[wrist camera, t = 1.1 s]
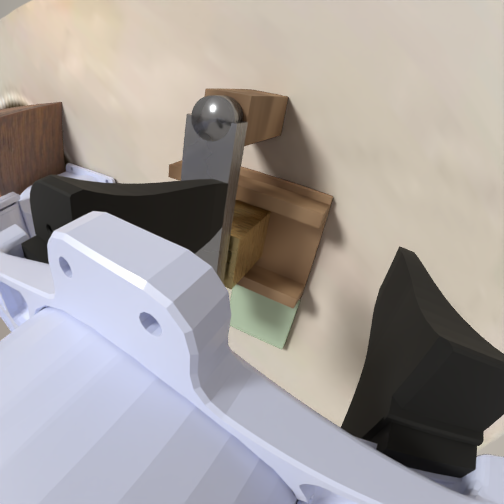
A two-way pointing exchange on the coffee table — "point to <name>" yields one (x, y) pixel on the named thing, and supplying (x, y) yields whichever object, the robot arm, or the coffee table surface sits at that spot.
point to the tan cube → (245, 241)
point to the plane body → (276, 206)
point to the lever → (215, 162)
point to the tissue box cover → (30, 145)
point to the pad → (261, 316)
